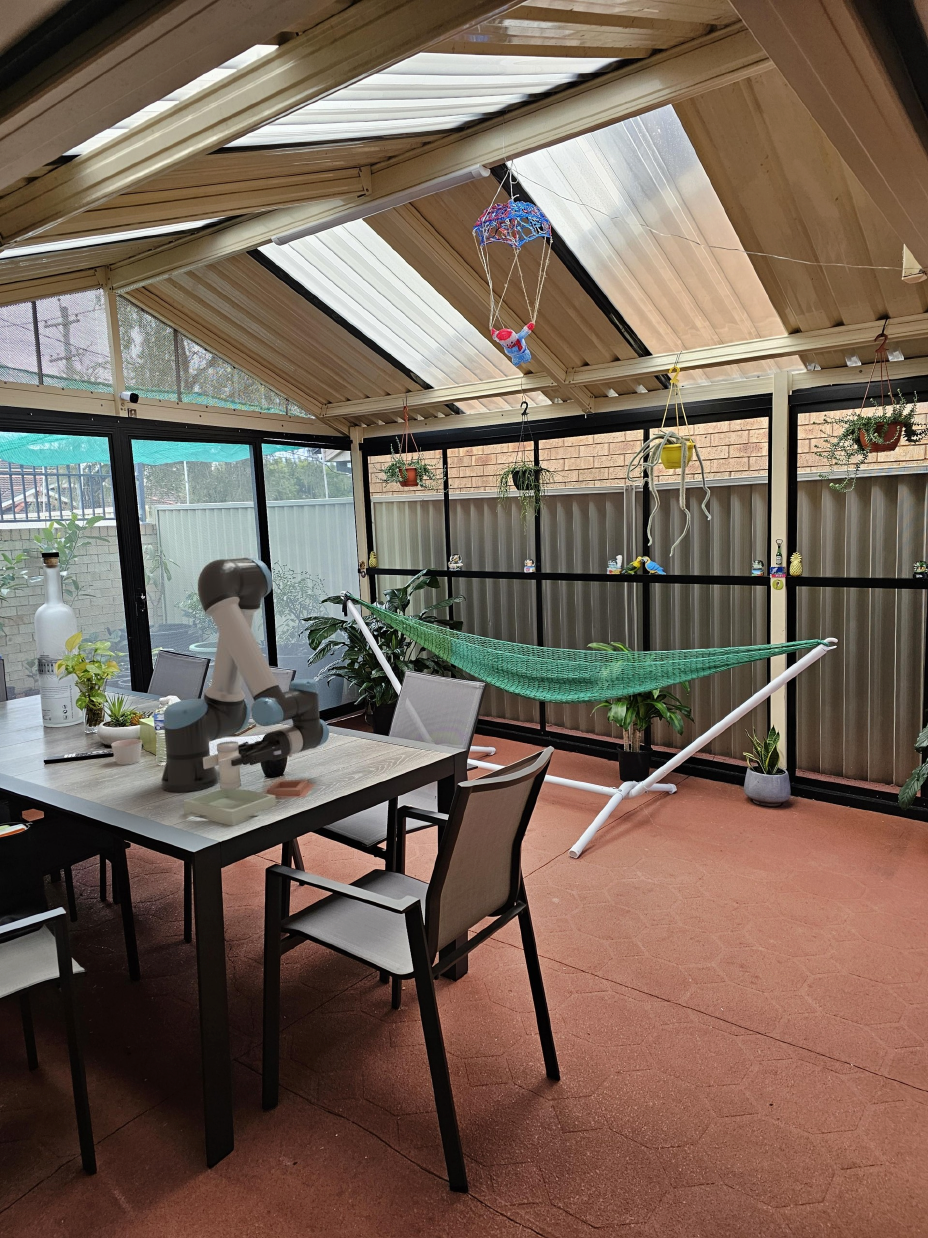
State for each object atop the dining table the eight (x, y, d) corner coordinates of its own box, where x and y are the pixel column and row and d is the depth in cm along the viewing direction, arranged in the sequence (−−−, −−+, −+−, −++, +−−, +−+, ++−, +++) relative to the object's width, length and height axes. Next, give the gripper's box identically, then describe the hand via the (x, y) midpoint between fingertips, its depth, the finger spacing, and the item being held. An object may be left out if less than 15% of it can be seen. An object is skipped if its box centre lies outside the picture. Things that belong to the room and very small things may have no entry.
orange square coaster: (259, 801, 219) (259, 792, 219) (272, 787, 231) (272, 778, 231) (304, 800, 218) (304, 791, 218) (315, 787, 230) (315, 778, 230)
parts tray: (184, 814, 211) (183, 800, 210) (228, 798, 222) (227, 785, 222) (232, 825, 201) (232, 811, 201) (276, 809, 212) (275, 795, 212)
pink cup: (148, 758, 268) (146, 739, 267) (136, 766, 259) (134, 746, 258) (120, 759, 268) (119, 739, 268) (107, 766, 259) (106, 746, 259)
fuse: (216, 790, 208) (213, 746, 207) (224, 784, 213) (221, 741, 212) (237, 789, 208) (234, 746, 207) (244, 783, 213) (241, 741, 212)
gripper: (306, 761, 220) (237, 784, 201) (259, 753, 230) (189, 775, 211) (304, 733, 220) (235, 753, 200) (257, 726, 230) (187, 746, 210)
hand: (211, 764), depth 206 cm, fingers closed on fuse, 5 cm apart
